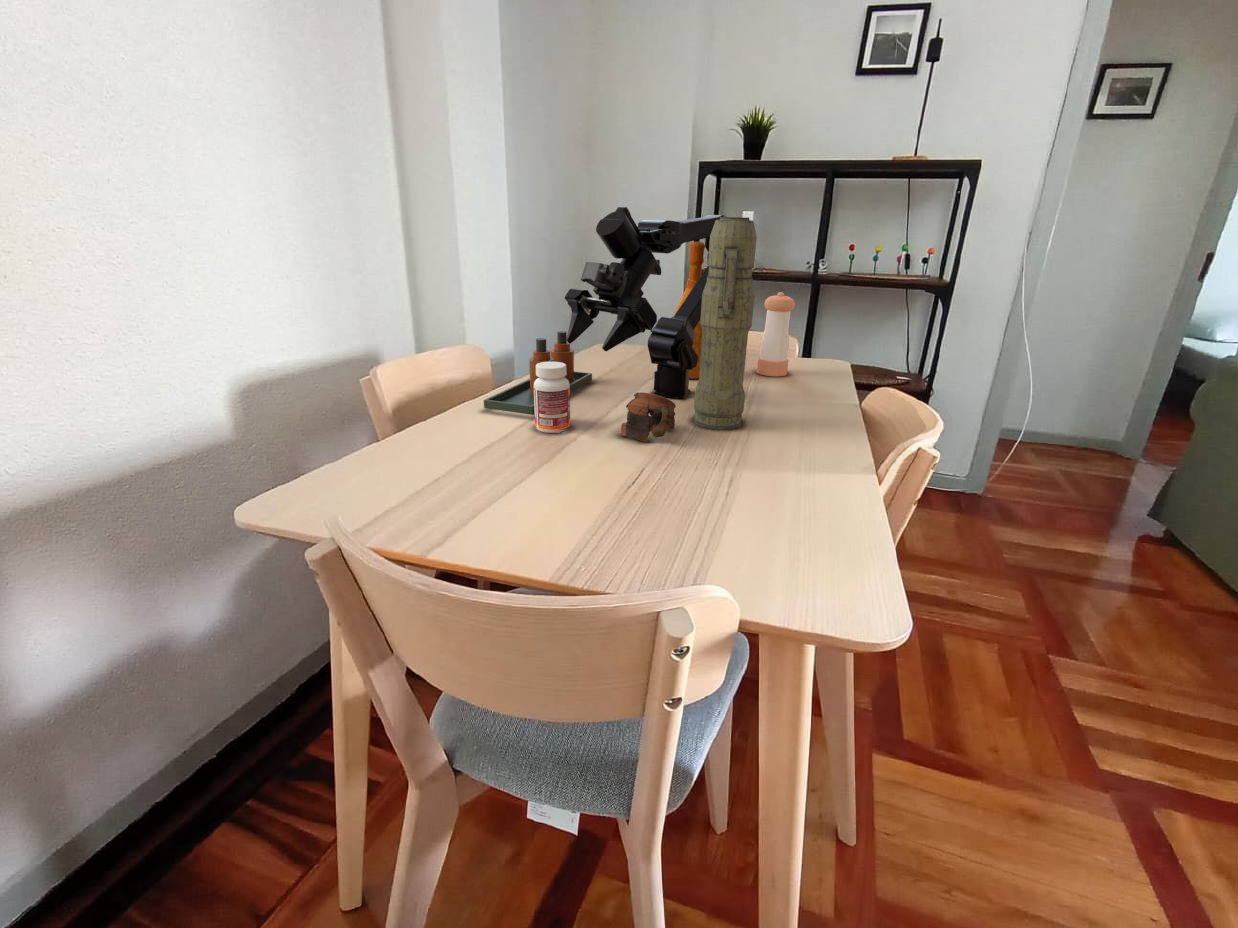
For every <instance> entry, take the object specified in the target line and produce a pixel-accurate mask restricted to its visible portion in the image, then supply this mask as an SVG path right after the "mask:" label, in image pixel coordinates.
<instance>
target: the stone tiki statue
mask: <svg viewBox="0 0 1238 928" xmlns="http://www.w3.org/2000/svg"><path fill="white" fill-rule="evenodd" d="M754 221H755V220H753V219H752V220H751V219H750V217H737V216H736V217H735V216H726V217H720V220H716V221H715V224H714V227H713V229H712V232H711V235H710V243H709V252H708V253H709V257H708V258H707V266H708V267H709V273H708V276H707V283H706V285H705V288H704V290H703V293H702V305H701V319H700V324H701V327H702V343H701V357H700V371H699V378H698V381H697V384H696V386H695V390H694V399H693V400H694V401H693V408H694V417H693V423H694V424H695V425H697V426H699V427H701V428H704V429H709V430H716V431H727V430H734V429H737V428H740V427H741V425H742V417H743V416H742V415H743V412H744V411H745V410H744V409H745V398H746V393H745V388H744V378H745V369H746V360H747V359H746V358H747V349H748V338H749V332H750V330H751V328H752V325H753V317H754V309H755V308H754V307H755V297H756V295H755V291H754V286H753V280H754V277H752V276H753V269H754V268H755V261H756V259H755V258H756V249H757V241H758V238H757V231H756V226H755V222H754Z"/></svg>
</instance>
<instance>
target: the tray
mask: <svg viewBox="0 0 1238 928" xmlns="http://www.w3.org/2000/svg"><path fill="white" fill-rule="evenodd" d="M591 381H593V373H591V372H584V371H575V370H574V382H573V383H571V384H570V394H571V393H572V392H574V391H576V390H577V389H579V388H581V387H582V386H585V385H586V384H588V383H590V382H591ZM483 409H487V410H495V411H502V412H511V413H515V414H516V413H518V414H524V415H531V416H532V415H535V408H534V395H533V394H531V393H530V378H528V379H526V380H524V381H522V382H519V383H517V384H515V385H513V386H511V387H508V388H506V389H504V390H502V391H500V392H498V393H496V394H494V395H491V396H489V397H487V398H484V399H483Z"/></svg>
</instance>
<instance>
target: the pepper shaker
mask: <svg viewBox="0 0 1238 928" xmlns="http://www.w3.org/2000/svg"><path fill="white" fill-rule="evenodd" d="M763 304H764V308H765V310H766V316H765V324H764V325H765V326H764V330H763V333H762V337H761V342H760V349H759V356H758V358H757V362H756V363H757V364H756V374H758V375H761V376H766V377H784V376H787V374H788V368H789V359H788V356H789V348H790V321H791V312H792V311H794V309H795V307H796V302H795V300H794V298H792V297H790V296H788V295H785V293H784V292H783V291H779V292H778V293H776V295H771V296H768V297H767V298H766V299H765V300H764V303H763Z"/></svg>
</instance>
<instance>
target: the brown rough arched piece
mask: <svg viewBox="0 0 1238 928" xmlns="http://www.w3.org/2000/svg"><path fill="white" fill-rule="evenodd" d="M633 397H634V398H633V399H631V400H630V401H629V402H627V404H626V405H625V408H626V409H627V415H626V422H623V423H621V427H620V428H621V429H620V436H621V437H627V438H631V439H634V440H638V441H641V442H645V443H647V442H648V441H649V436H650V433H651V434H652V436H654V437H655V438H656V439H658V438H662V437H664V436H665V434H666V432H667V431H671V430H674V429H675V426H676V419H675V416H676V412H675V408H676V407H677V404H676V403H675V402H674V401H672V400H671V399H669V398H668V397H663V396H658V395H655V394H653V393H650V392H643V391H641V392H635V393H634V395H633Z"/></svg>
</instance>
